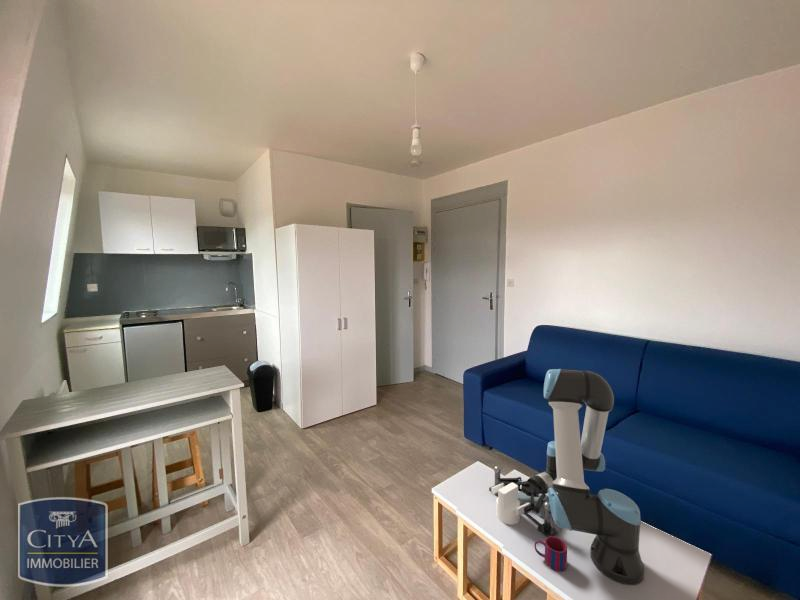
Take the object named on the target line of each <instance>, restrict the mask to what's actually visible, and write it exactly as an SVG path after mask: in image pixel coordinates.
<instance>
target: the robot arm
mask: <svg viewBox="0 0 800 600" xmlns="http://www.w3.org/2000/svg"><path fill="white" fill-rule="evenodd" d="M543 398H544V399H545V400H548V405H549V406H550V407H551V408H552V413H553V415H552V416H553V429H554V430H553V431H554V432H553V433H554V440H552V441H549V442H548V443H547V449H546V470H545V471H543V472H541V473H538V474H536V475H533V476H531V477H529V478H528V479H527V480H522V477H521V476H518V477H502V478H501V477H500V479H499V484H496V485H495V484H494V485H493V486H494V487H492V486H490V487H491V491H490V494H491V495H494V494H495V493H498V490H499V489H501V488H503V487H504V486H506V485H508V484H510V483H512V482H513V483H515V484H516V485H518V492H523V493H525V494H526V495H527V496H531V505H530V503H529V502H528V503H526V504H521V505H520V507H517V508H516V515H517V516H519V515H524V513H528V514H529V513H530V512H533V511H535V512H536V513H537V514H538V513H539V511H540V509H541V506H542V504H543V502H545V501H546V495H547V494H548V495H547V496H548V497H549V503H550V509H551V518H552V519H553V522H554V524H555V525H556V526H557V527H558V528H561V529H564V530H565V529H566V530H568V531H570V532H571V531H576V532H581V533H586V534H592V535H595V537H594V539H593V541H592V543H591V545H590V551H589V552H590V553H589V555H590V560H591V563H593V564H594V566H595V568H596V569H597V570H598V571H600V572H601V573H602V574H603V575H605V576H606V577H607V578H610V579H611V580H612V581H615V582H618V583H620V584H623V585H630V586H631V585H639V584H641V583H642V582H643V581H644V579H645V566H644V565H645V564H644V562H643V560H642V558H641V552H640V550H639V549H640V535H641V534H640V533H641V523H642V521H641V520H642V519H641V511H640V508H639V506H638V504H636V502H635V501H634V500H633V499H632V498H630V497H629V496H627V495H625V494H624V493H622V492H620V491H618V490H614V489H610V488H603V489H600V490H599V491H598V493H597V494H592V493H591V491H590V487H589V486H588V484H586V483H585V477H584V476H585V475H584V470H585V471H592V472H604V471H605V470H606V459H605V456H604V454H603V453H602V447H603V442H604V437H605V432H606V426H607V422H608V417H609V412H611V411H612V410H613V408H614V405H615V404H614V403H615V396H614V393H613V390H612V388H611V386H610V384H609V383H608V381H607V380H606V379H605V378H604V377H603V376H602V375H599V374H598V373H596V372H593V371H592V370H591V371H589V370H576V369H564V368H558V369H557V368H554V369H553V368H552V369H548V370H547V371H546V373H545V377H544V383H543ZM583 402H584V404H585V405H586V408H585V414H584V415H585V416H584V420H583V427H582V433H581V431H580V418H579V410H580V409H581V408H582V407H583ZM534 497H539V499H538V502H537V504H536V506H535V505H534ZM536 513H535V514H536ZM537 514H536V515H537Z"/></svg>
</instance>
